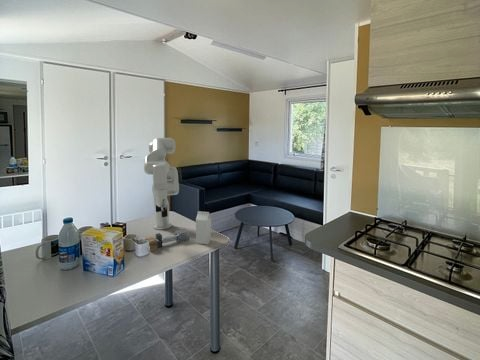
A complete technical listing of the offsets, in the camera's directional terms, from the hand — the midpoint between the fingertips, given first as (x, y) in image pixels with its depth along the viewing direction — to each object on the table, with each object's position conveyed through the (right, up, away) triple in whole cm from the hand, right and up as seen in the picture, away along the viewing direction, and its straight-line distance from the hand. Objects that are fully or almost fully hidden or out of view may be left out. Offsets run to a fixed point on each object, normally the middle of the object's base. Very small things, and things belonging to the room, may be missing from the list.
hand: (161, 214), depth 160 cm
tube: (+1, -18, +2) cm, 18 cm away
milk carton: (+24, -18, +7) cm, 30 cm away
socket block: (-5, -19, -3) cm, 20 cm away
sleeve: (+10, -17, +9) cm, 22 cm away
